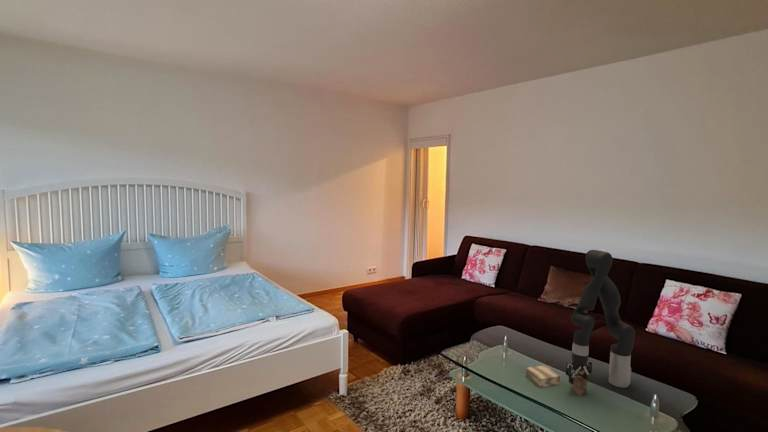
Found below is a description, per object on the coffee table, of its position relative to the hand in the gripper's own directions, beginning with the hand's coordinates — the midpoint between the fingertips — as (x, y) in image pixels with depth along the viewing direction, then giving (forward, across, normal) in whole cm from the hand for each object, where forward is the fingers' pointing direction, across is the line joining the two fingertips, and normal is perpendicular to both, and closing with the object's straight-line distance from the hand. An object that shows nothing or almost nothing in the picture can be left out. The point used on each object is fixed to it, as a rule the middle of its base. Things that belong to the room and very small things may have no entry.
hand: (577, 382), depth 200 cm
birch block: (+6, +10, -15) cm, 18 cm away
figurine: (+5, -14, -12) cm, 19 cm away
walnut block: (+5, -1, 0) cm, 5 cm away
